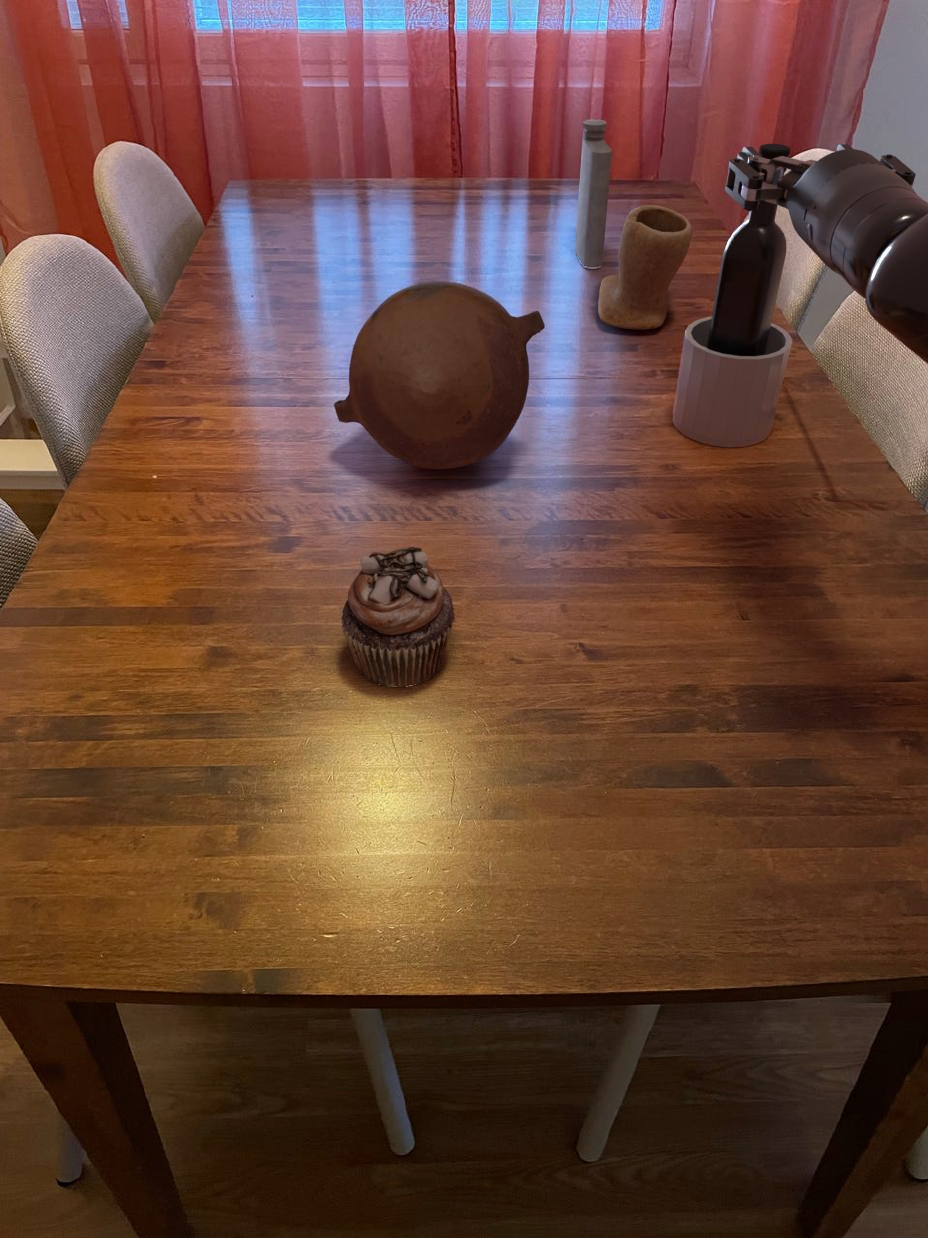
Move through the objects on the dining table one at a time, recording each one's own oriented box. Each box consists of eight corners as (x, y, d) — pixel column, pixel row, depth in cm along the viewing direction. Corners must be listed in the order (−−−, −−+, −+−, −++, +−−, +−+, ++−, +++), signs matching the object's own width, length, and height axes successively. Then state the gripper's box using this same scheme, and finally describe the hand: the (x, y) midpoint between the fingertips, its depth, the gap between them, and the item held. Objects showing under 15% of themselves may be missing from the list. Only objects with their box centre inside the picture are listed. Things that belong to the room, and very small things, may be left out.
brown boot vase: (678, 339, 132) (695, 229, 123) (593, 333, 134) (603, 224, 124) (678, 297, 144) (694, 194, 134) (600, 292, 145) (609, 189, 136)
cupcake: (330, 638, 85) (319, 547, 78) (430, 610, 88) (427, 520, 81) (366, 708, 78) (356, 616, 72) (473, 675, 81) (473, 583, 75)
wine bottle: (709, 401, 117) (758, 136, 97) (754, 414, 114) (812, 144, 95) (691, 420, 113) (737, 149, 94) (736, 433, 111) (793, 157, 91)
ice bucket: (761, 400, 119) (779, 315, 112) (781, 448, 110) (803, 359, 103) (666, 399, 119) (679, 314, 112) (678, 446, 110) (693, 357, 103)
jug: (489, 515, 99) (525, 423, 125) (540, 333, 89) (568, 273, 114) (306, 460, 100) (378, 380, 125) (335, 273, 90) (408, 227, 115)
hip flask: (602, 269, 153) (614, 134, 140) (577, 269, 153) (587, 134, 140) (594, 236, 165) (605, 108, 152) (571, 236, 165) (579, 108, 152)
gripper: (964, 161, 70) (881, 108, 83) (774, 166, 70) (719, 112, 82) (932, 263, 75) (859, 198, 87) (755, 268, 75) (706, 203, 87)
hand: (791, 157), depth 85 cm, fingers open, 8 cm apart
